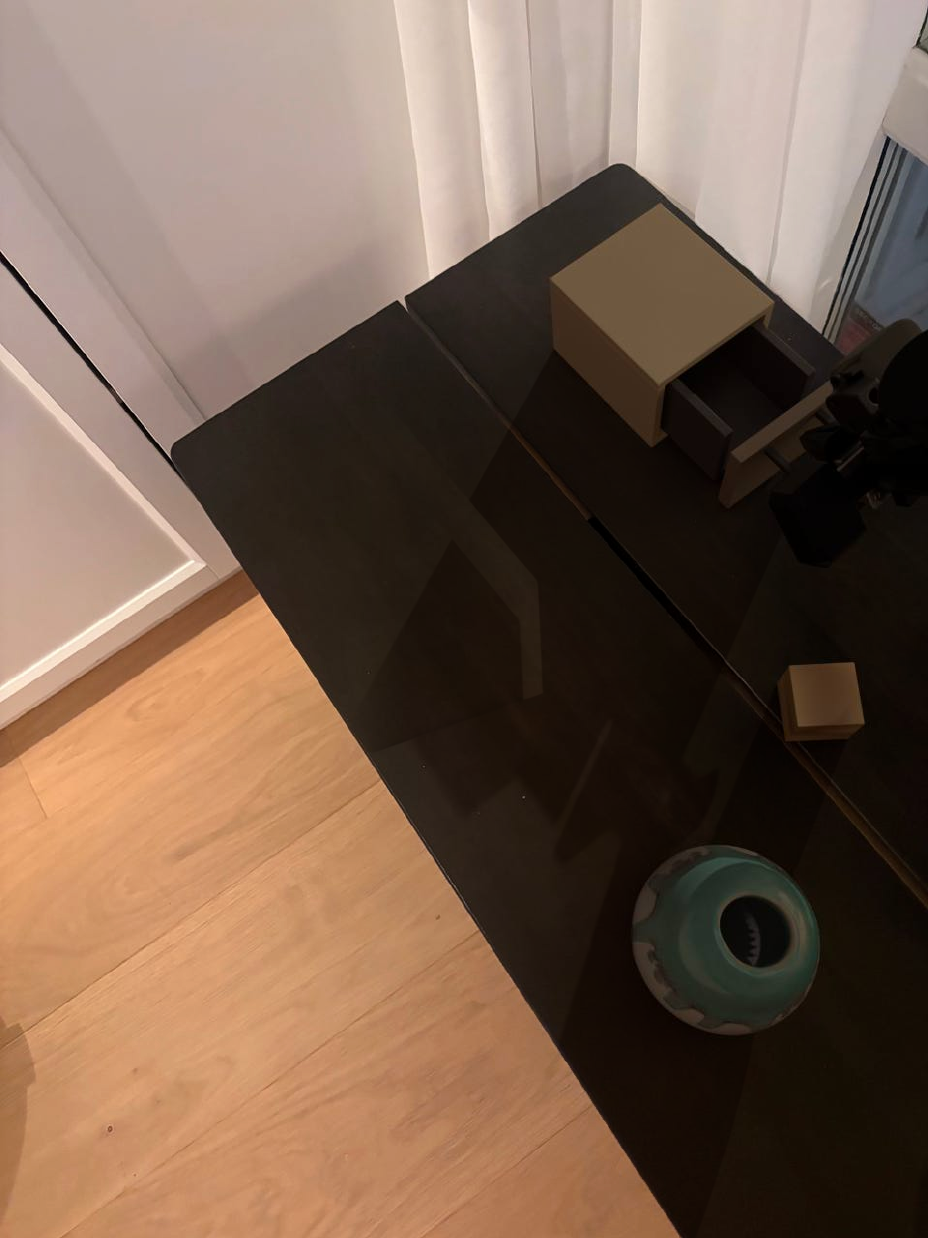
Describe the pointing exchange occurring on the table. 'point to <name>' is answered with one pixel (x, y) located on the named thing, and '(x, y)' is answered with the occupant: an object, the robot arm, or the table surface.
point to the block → (820, 702)
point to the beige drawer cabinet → (648, 313)
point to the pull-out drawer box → (745, 410)
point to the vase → (725, 939)
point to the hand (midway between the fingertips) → (804, 439)
